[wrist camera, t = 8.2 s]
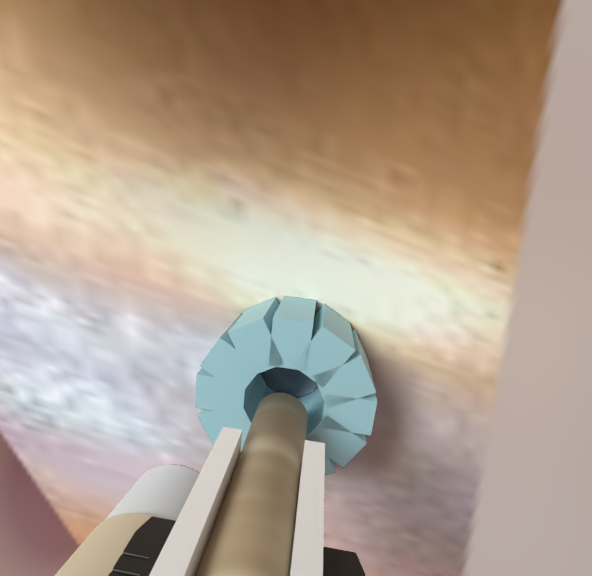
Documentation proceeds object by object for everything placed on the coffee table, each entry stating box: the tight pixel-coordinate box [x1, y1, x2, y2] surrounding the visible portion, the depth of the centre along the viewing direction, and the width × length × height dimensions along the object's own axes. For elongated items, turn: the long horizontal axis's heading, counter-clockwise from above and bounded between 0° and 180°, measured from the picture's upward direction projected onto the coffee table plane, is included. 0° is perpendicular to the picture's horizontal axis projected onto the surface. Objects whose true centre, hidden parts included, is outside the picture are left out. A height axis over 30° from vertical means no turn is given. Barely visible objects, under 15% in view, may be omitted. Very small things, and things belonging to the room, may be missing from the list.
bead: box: [195, 296, 377, 475], centre depth 18 cm, size 9×9×4 cm
